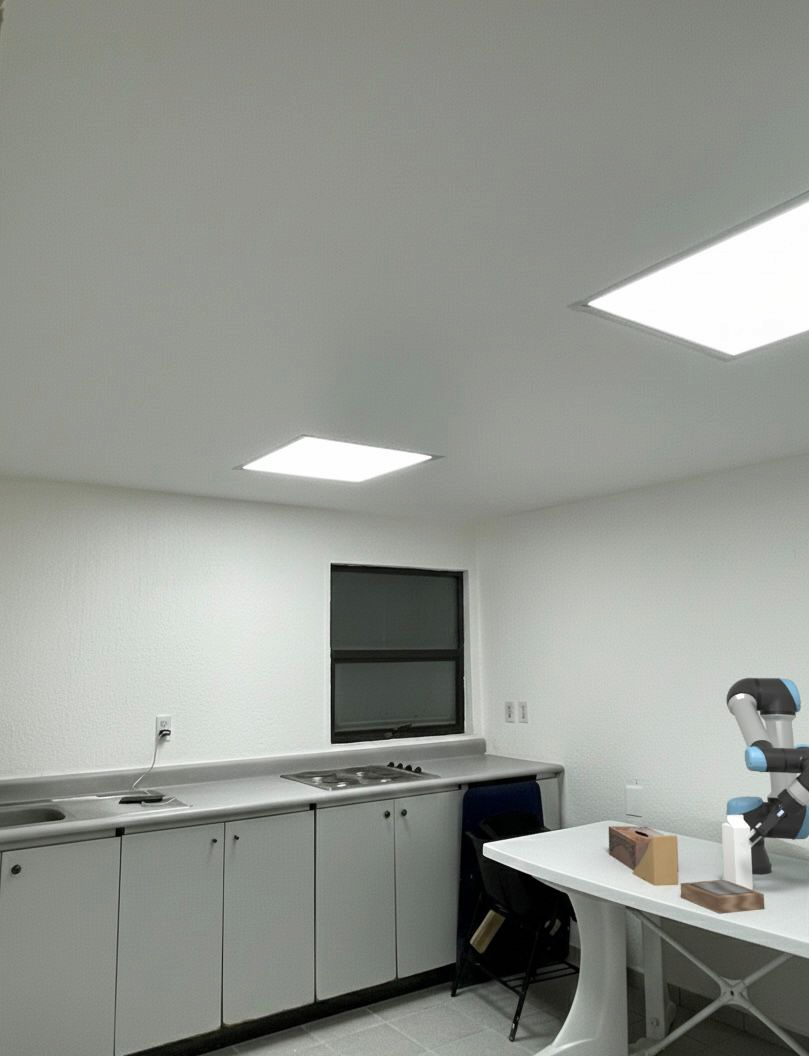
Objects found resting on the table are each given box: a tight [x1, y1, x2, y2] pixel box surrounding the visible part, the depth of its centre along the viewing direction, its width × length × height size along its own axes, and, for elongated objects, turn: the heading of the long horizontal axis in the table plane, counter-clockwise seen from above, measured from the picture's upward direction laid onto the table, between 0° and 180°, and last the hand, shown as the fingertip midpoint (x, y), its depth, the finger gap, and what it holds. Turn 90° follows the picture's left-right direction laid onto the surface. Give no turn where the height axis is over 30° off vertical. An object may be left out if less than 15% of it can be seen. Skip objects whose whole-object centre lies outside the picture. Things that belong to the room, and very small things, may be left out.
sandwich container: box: [632, 834, 679, 887], centre depth 260 cm, size 9×15×15 cm, turn 11°
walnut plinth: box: [680, 879, 765, 914], centre depth 234 cm, size 16×16×4 cm
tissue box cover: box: [608, 825, 679, 872], centre depth 281 cm, size 26×14×10 cm, turn 6°
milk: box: [721, 815, 754, 890], centre depth 251 cm, size 6×6×22 cm
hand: (745, 843), depth 249 cm, fingers open, 13 cm apart
